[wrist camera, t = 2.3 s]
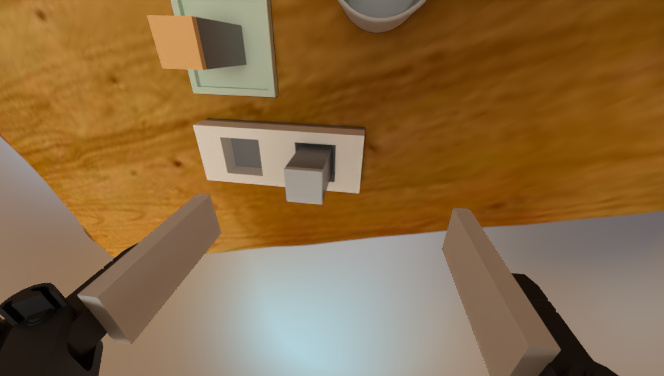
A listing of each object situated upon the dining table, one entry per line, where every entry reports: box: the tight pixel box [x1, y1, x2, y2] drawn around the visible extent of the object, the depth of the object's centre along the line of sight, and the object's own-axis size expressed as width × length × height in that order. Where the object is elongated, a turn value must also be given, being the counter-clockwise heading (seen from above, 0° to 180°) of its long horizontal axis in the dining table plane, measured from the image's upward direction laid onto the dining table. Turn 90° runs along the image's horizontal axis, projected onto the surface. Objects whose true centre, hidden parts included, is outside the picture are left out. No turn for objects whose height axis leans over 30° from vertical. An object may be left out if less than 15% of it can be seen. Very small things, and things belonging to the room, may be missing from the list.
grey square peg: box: [284, 143, 333, 205], centre depth 30 cm, size 4×4×9 cm
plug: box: [147, 15, 247, 70], centre depth 25 cm, size 4×4×9 cm
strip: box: [193, 118, 365, 193], centre depth 34 cm, size 8×22×4 cm, turn 89°
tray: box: [171, 0, 278, 97], centre depth 29 cm, size 11×11×1 cm
